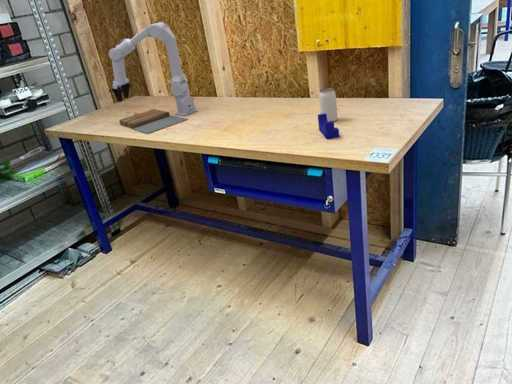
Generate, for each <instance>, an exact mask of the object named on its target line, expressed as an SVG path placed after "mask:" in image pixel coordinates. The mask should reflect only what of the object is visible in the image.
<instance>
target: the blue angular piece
mask: <svg viewBox="0 0 512 384" xmlns="http://www.w3.org/2000/svg"><path fill="white" fill-rule="evenodd" d="M317 122H318V130H319V132H320V133H321V134H322V135H323V137H324V138H325V140H333V139H337V138H340V129H339V128H338V127H335V121H334V122H333V121H329V122H328V121H327V114H326V113H324V114H320V113H319V114H317Z"/></svg>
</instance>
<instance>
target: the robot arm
mask: <svg viewBox="0 0 512 384" xmlns="http://www.w3.org/2000/svg"><path fill="white" fill-rule="evenodd" d="M146 38H153V39H156V40H159V41H161V42H162V43H163V44H164V45H165V47H166V52H167V53H166V54H167V58H168V63H169V69H170V74H171V81H170V84H171V87H170V93H171V94H172V95H173V96H174V101H175V105H176V108H177V109H176V110H177V112H175V113H174V114H175V115H180V116H188V115H190V114H194V113H195V112H198V110H197V109H196V107H195V102H194V99H193V97H191V95H190V96H189V94H188V92H187V90H188V89H189V84H188V81H187V82H186V80H187V79H186V80H185V77H186V76H185V77H184V76H183V75H182V74H183V71H182V64H181V60H180V54H179V49H178V44H177V38H176V36H175V35H174V33H173V32H172V31H171V29H170V27H169V25H168V24H166V23H165V22H163V21H159V22H157V23H151V24H150V25H148V26H146V27H145V28H143V29H142V30H140V31H139V32H138V33H137V34H135V35H134V36H133V37H132V38H123V39H122V41H121V42H120V43H119V44H116V45H115V47H113V48H110V50H109V51H108V57H109V58H110V60H111V63H112V64H111V65H112V71H113V78H114V80H113V81H112V87H111V91H112V92H113V94H114V96H115V97H116V101H117V102H119V103H121V102H123V99H129V95H130V89H131V86H132V83H130V79H129V78H127V74H126V68H125V57H126V56H127V55H129V54H130V53H131V52H132V51H134V50H135V49H136V45H138V44H139V43H140V42H142V41H143V40H145V39H146Z"/></svg>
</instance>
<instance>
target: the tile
mask: <svg viewBox="0 0 512 384" xmlns="http://www.w3.org/2000/svg"><path fill="white" fill-rule="evenodd" d="M151 110H152V109H147V108H141V109H140V110H139V109H138V110H136V111H134V112H133V116H134V115H135V116H137V117H144V116H147V115H150V114H151Z"/></svg>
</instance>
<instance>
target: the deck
mask: <svg viewBox="0 0 512 384" xmlns="http://www.w3.org/2000/svg"><path fill="white" fill-rule="evenodd" d="M150 110H151V114H150V115H147V116H144V117H137V116H135V115H134V114H133V115H132V116H128V117H126V118H125V117H124V118H123V119H122V118H121V119H119V125H120V126H123V127H126V128H129V129H132V130H133V129H134V128H137V127H139V126H142V125H145V124H148V123H151V122H154V121H157V120H160V119H163V118H166V117H169V116H171V115H170V111H166V110H160V109H155V108H153V109H150Z"/></svg>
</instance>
